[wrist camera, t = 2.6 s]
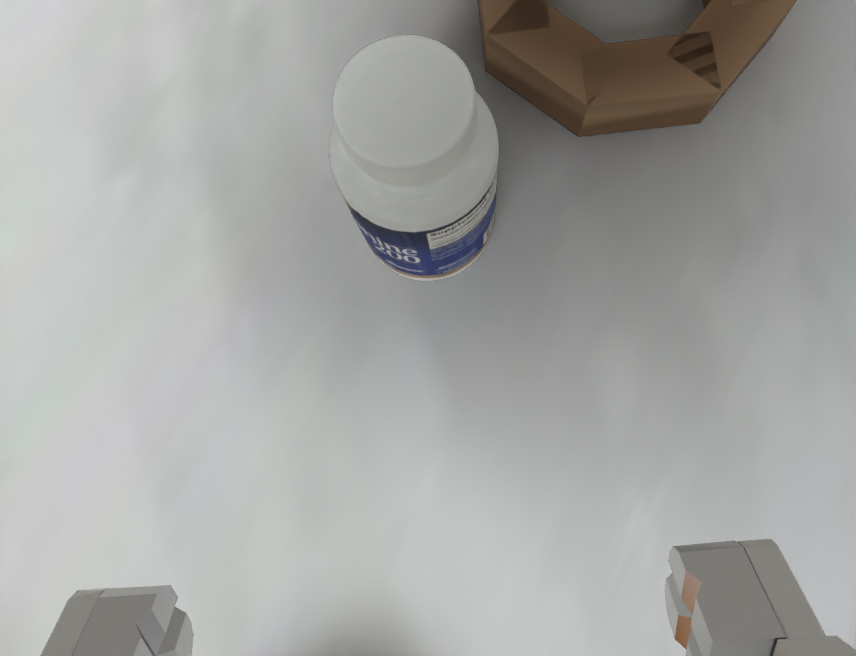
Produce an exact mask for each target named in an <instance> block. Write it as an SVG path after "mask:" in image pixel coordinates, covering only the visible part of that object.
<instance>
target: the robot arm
mask: <svg viewBox="0 0 856 656" xmlns="http://www.w3.org/2000/svg"><path fill="white" fill-rule="evenodd" d="M668 561H669V564H670V567H671V570H672V574H671V575H669V576H668V577H667V578H666V584H665V599H666V609H667V614H668V618H669V622H670V626H671V629H672V632H673V635H674V638H675V640H676V641H678V642H679V643H680V644H681V645H682V646H683V647H684V648H685V649H687V650H686V656H856V650H855V649H854V648H852V647H851V646H850V645H848V644H847V643H846V642H844V641H843V640H842V639H840V638H839V637H838V636H826V634H825V632H824V631H823V629H822V627H821V625H820V623H819V621H818V619H817V618H816V616H815V614H814V612H813V610H812V608H811V606H810V604H809V603H808V601H807V599H806V597H805V595H804V593H803V591H802V590H801V588H800V586H799V584H798V582H797V580H796V578H795V577H794V575H793V573H792V571H791V569H790V567H789V565H788V563H787V562H786V560H785V558H784V556H783V554H782V552H781V550H780V549H779V547H778V545H777V544H776V543H775V542H774V541H773V540H772V539H759V540H749V541H739V542H736V541H725V542H714V543H703V544H692V545H681V546H673V547H672V548H671V550H670V553H669V560H668ZM177 598H178V596H177V595H176V593H175V592H174V590H173V588H172V587H171V585H162V586H145V587H127V588H106V589H92V590H78V591H77V592H76V593H75V594H74V595H73V596H72V597H71V598H70V599H69V600H68V601H67V603H66V605H65V607H64V609H63V611H62V613H61V615H60V617H59V619H58V621H57V623H56V625H55V627H54V629H53V631H52V633H51V635H50V637H49V639H48V641H47V643H46V645H45V647H44V649H43V651H42V654H41V656H191V655H192V646H193V631H192V626H191V622H190V620H189V618H188V616H187V614H186V613H185V612H183V611H182V610H180V609H178V608H176V607H175V604H176V601H177Z"/></svg>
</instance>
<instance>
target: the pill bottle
mask: <svg viewBox="0 0 856 656" xmlns="http://www.w3.org/2000/svg"><path fill="white" fill-rule="evenodd" d="M332 110H333V117H334V124H333V127H332V131H331V135H330V142H329V158H330V165H331V169H332V173H333V176H334V178H335V181H336V183H337V186H338V188H339V190H340V192H341V194H342V196H343V198H344V200H345V201H346V203H347V205H348V207H349V209H350V211H351V213H352V215H353V217H354V219H355V221H356V222H357V224H358V226H359V228H360V230H361V231H362V233H363V235H364V237H365V239H366V241H367V243H368V244H369V246H370V248H371V249H372V251H373V252H374V254H375V255H376V256H377V258H378V259H379V260H380V261H381V262H382V263H383V264H384V265H385V266H387V267H388V268H389V269H390V270H392V271H394V272H396V273H398V274H400V275H402V276H404V277H406V278H410V279H414V280H421V281H434V280H440V279H445V278H448V277H451V276H454V275H456V274H458V273H460V272H462V271H463V270H465V269H466V268H467V267H469V266H470V265H471V264H473V263H474V262H475V261H476V260H477V259H478V257H479V256H480V255H481V254H482V252H483V251H484V249H485V248H486V246H487V244H488V242H489V239H490V237H491V233H492V229H493V224H494V216H495V202H496V188H497V170H498V159H499V141H498V133H497V128H496V124H495V121H494V119H493V116H492V114H491V112H490V110H489V108H488V106H487V105H486V103H485V102H484V100H483V99H482V98H481V96H480V95H479V94H478V93H477V92H476V91H475V86H474V83H473V80H472V77H471V74H470V72H469V70H468V68H467V66H466V65H465V63H464V62H463V61H462V59H461V58H460V57H459V56H458V55H457V54H456V53H455V52H454V51H453V50H451V49H450V48H449V47H447V46H446V45H444V44H442V43H441V42H439V41H436V40H433V39H431V38H427V37H423V36H419V35H396V36H390V37H387V38H384V39H380V40H378V41H376V42H374V43H372V44H370V45H368V46H366V47H364V48H363V49H362V50H360V51H359V52H358V53H357V54H355V55H354V56H353V57H352V58H351V59H350V60H349V61H348V63H347V64H346V66H345V67H344V68H343V70H342V71H341V73H340V75H339V77H338V80H337V82H336V84H335V88H334V93H333V100H332Z"/></svg>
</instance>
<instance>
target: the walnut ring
mask: <svg viewBox="0 0 856 656" xmlns="http://www.w3.org/2000/svg"><path fill="white" fill-rule="evenodd" d="M796 1H797V0H703V4H704V10H703V11H702V12H701V14H700V15H699V16H698V17H697V18H696V19H695V21H694V22H693V23H692V24H691V25H690V26H689V28H688V29H687V30H686V31H685V32H684V34H683V35H675V36H667V37H658V38H650V39H642V40H633V41H625V42H617V43H608V44H606V43H604V42H603V41H601V40H600V39H599V38H597V37H596V36H594V35H593V34H591V33H590V32H588V31H587V30H585V29H584V28H582V27H581V26H579V25H578V24H576V23H575V22H573V21H572V20H570V19H569V18H567V17H566V16H564V15H563V14H562V13H560V12H559V11H557V10H556V9H554V8H553V7H551V6H550V5H548V4H547V1H546V0H478V5H479V14H480V23H481V32H482V41H483V50H484V60H485V70H486V71H487V72H488V73H490V74H491V75H493V76H494V77H495V78H497V79H498V80H500V81H501V82H502V83H504V84H505V85H507V86H508V87H509V88H511V89H512V90H514V91H515V92H516V93H518V94H519V95H521V96H522V97H523V98H525V99H526V100H528V101H529V102H531V103H532V104H533V105H535V106H536V107H538V108H539V109H540V110H542V111H543V112H545V113H546V114H547V115H549V116H550V117H552V118H553V119H554V120H556V121H557V122H559V123H560V124H561V125H563V126H564V127H566V128H567V129H568V130H570V131H571V132H573V133H574V134H575V135H577V136H578V137H580V136H589V135H597V134H606V133H615V132H624V131H633V130H642V129H651V128H660V127H669V126H677V125H686V124H695V123H701V121H702V120H703V119H704V118H705V116H706V115H707V114H708V113H709V111H710V110H711V109H712V108H713V107H714V105H715V104H716V103H717V102H718V101H719V99H720V98H721V97H722V96H723V95H724V93H725V92H726V91H727V90H728V89H729V87H730V86H731V85H732V84H733V83H734V81H735V80H736V79H737V78H738V76H739V75H740V74H741V73H742V72H743V70H744V69H745V68H746V67H747V66H748V64H749V63H750V62H751V61H752V60H753V58H754V57H755V56H756V55H757V54H758V52H759V51H760V50H761V49H762V48H763V46H764V45H765V44H766V43H767V41H768V40H769V39H770V38H771V37H772V36H773V34H774V33H775V31H776V30H777V28H778V27H779V25H780V24H781V23H782V21H783V20H784V18H785V17H786V15H787V14H788V12H789V11H790V9H791V8H792V7H793V5H794V4H795V2H796Z"/></svg>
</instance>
